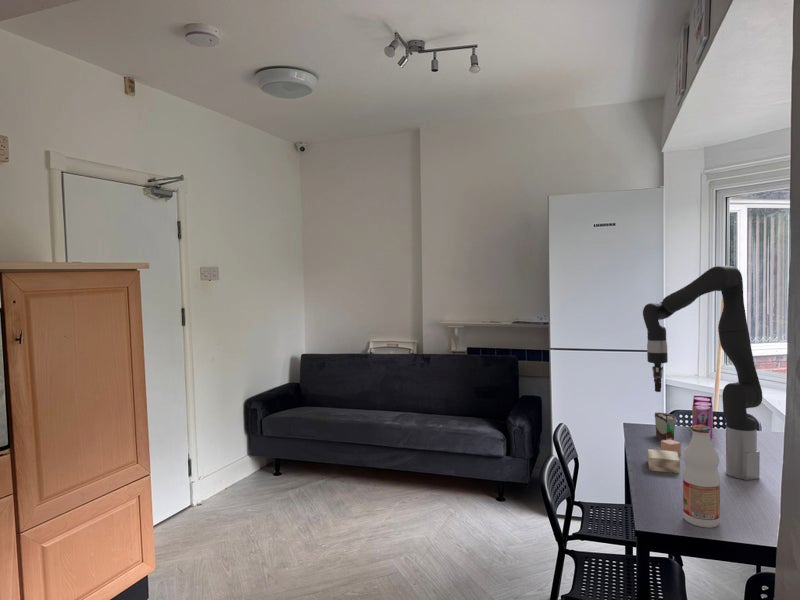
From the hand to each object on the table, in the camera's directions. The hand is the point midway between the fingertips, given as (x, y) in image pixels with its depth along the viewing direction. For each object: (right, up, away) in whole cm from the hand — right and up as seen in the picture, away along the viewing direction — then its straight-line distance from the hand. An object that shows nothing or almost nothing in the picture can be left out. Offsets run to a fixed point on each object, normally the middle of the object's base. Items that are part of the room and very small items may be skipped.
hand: (658, 389), depth 219 cm
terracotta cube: (+1, -24, -8) cm, 26 cm away
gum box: (+30, -22, +20) cm, 42 cm away
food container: (+10, -23, +11) cm, 27 cm away
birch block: (-9, -26, -22) cm, 35 cm away
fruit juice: (-19, -28, -64) cm, 73 cm away
